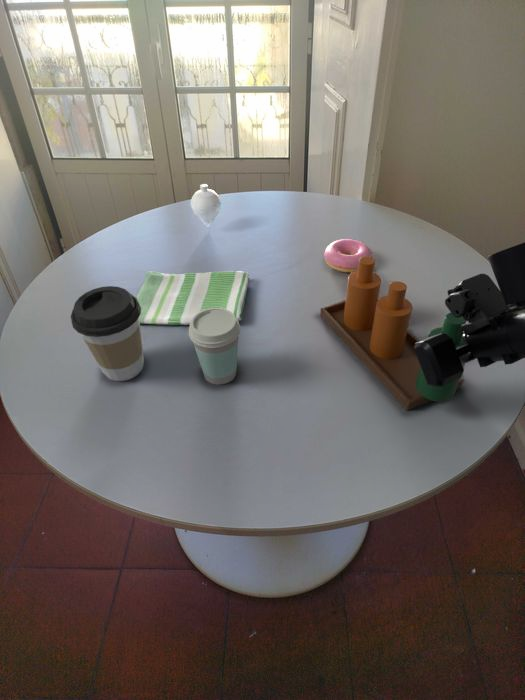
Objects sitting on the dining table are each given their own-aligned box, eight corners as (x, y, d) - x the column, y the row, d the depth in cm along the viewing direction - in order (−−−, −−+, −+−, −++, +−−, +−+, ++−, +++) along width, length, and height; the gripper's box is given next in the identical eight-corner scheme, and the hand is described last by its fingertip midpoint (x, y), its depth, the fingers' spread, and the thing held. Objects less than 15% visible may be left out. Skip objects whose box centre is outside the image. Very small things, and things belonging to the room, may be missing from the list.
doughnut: (315, 256, 112) (316, 241, 110) (356, 246, 115) (358, 231, 112) (337, 280, 105) (338, 264, 102) (379, 269, 108) (382, 253, 105)
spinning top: (194, 223, 127) (188, 180, 119) (222, 221, 127) (218, 178, 119) (194, 237, 121) (188, 192, 113) (223, 235, 122) (219, 190, 114)
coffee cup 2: (227, 350, 89) (221, 299, 81) (253, 376, 83) (249, 324, 75) (187, 370, 85) (177, 318, 77) (212, 398, 80) (203, 345, 72)
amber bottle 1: (379, 319, 93) (390, 258, 84) (364, 335, 90) (373, 273, 81) (354, 308, 96) (361, 248, 87) (337, 322, 93) (343, 262, 84)
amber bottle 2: (408, 346, 87) (423, 284, 78) (392, 364, 84) (406, 301, 74) (379, 333, 90) (390, 271, 81) (363, 350, 87) (372, 287, 77)
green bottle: (462, 396, 73) (488, 326, 64) (428, 405, 72) (449, 335, 62) (440, 370, 77) (461, 301, 68) (408, 379, 76) (425, 310, 67)
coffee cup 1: (114, 341, 92) (93, 277, 82) (166, 354, 89) (150, 288, 78) (79, 382, 84) (51, 316, 74) (134, 396, 81) (112, 330, 71)
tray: (460, 388, 80) (463, 380, 78) (406, 411, 76) (409, 402, 75) (366, 300, 99) (367, 292, 98) (320, 315, 96) (320, 307, 94)
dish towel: (149, 277, 108) (147, 267, 106) (250, 278, 106) (249, 268, 105) (127, 326, 95) (124, 315, 93) (241, 329, 93) (240, 318, 91)
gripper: (554, 250, 59) (465, 281, 74) (440, 293, 53) (369, 318, 68) (585, 332, 59) (490, 347, 74) (475, 386, 53) (396, 390, 68)
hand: (438, 349), depth 71 cm, fingers closed on green bottle, 6 cm apart
